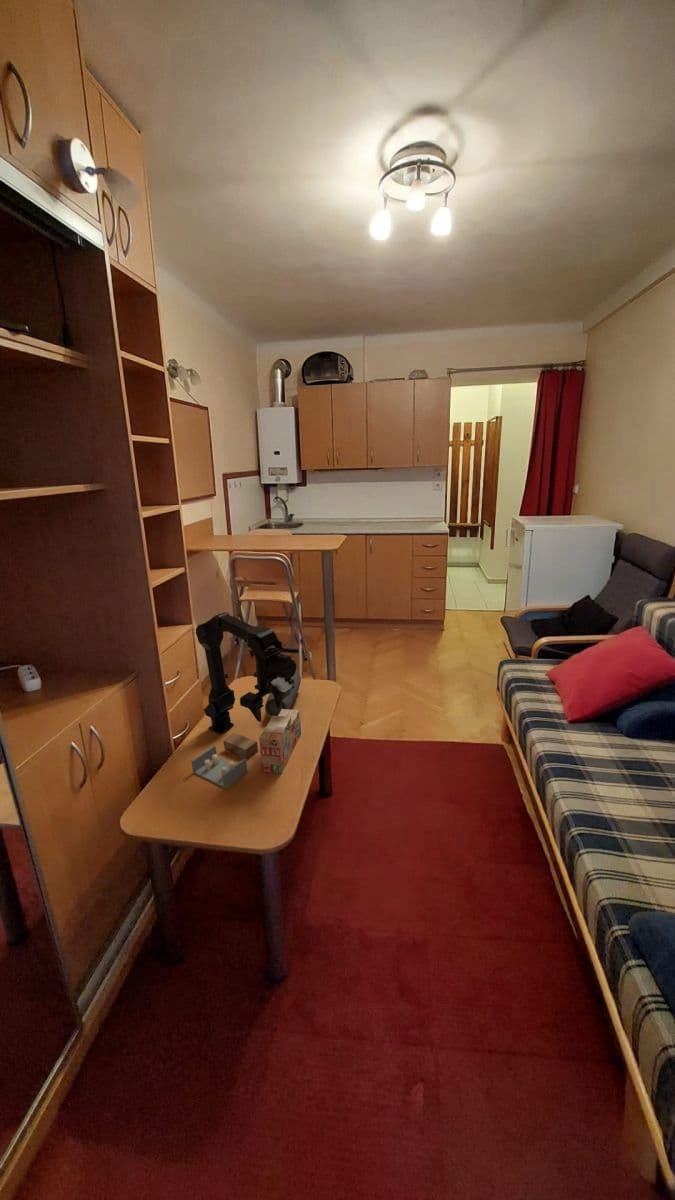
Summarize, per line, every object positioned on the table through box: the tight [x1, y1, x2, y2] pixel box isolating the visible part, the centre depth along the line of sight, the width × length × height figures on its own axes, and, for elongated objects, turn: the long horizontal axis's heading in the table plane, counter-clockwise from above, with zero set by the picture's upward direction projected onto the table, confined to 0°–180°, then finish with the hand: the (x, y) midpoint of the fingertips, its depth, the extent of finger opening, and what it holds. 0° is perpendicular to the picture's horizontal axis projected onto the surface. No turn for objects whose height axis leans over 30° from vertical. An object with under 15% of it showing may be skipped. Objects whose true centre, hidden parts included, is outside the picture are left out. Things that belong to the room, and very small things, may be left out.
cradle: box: [190, 744, 249, 790], centre depth 140 cm, size 14×9×4 cm, turn 57°
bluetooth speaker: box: [264, 671, 302, 718], centre depth 176 cm, size 23×9×10 cm, turn 172°
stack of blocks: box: [258, 709, 302, 775], centre depth 148 cm, size 21×6×12 cm, turn 169°
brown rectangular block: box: [223, 732, 259, 761], centre depth 150 cm, size 10×5×4 cm, turn 57°
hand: (269, 714), depth 146 cm, fingers open, 9 cm apart
